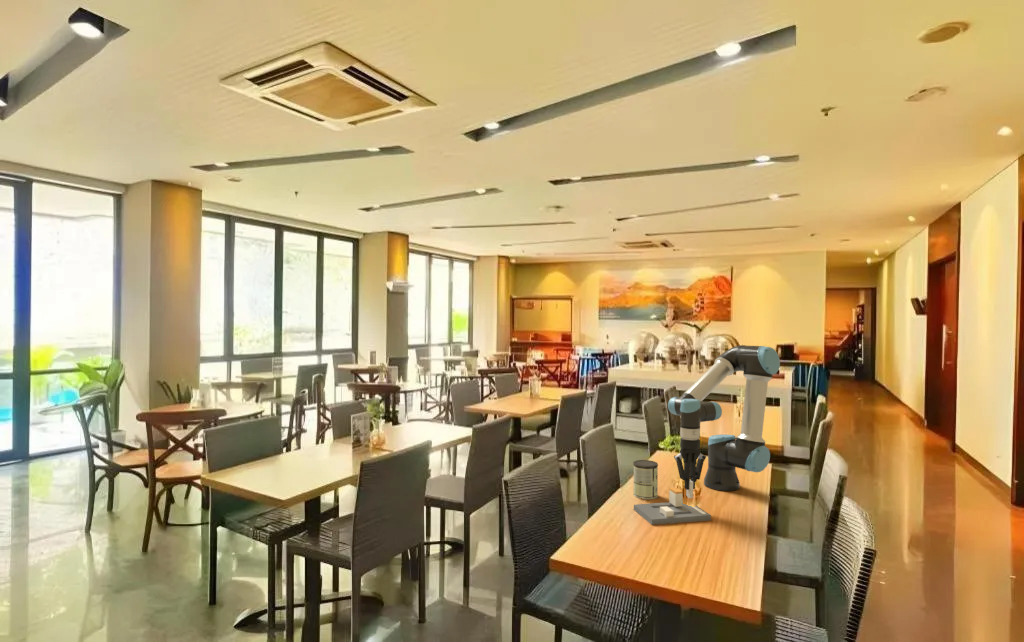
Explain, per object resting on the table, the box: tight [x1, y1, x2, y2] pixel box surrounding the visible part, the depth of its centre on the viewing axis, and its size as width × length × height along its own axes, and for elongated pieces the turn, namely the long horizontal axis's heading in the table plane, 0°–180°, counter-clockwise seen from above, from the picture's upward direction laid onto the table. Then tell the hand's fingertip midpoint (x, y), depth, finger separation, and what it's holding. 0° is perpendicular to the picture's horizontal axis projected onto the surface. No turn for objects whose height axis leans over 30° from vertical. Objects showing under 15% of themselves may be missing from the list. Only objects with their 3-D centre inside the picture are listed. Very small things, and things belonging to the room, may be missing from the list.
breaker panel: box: [633, 501, 712, 526], centre depth 209 cm, size 24×16×4 cm, turn 101°
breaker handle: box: [668, 487, 684, 507], centre depth 214 cm, size 3×5×6 cm, turn 11°
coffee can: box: [632, 459, 659, 500], centre depth 232 cm, size 10×10×14 cm
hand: (689, 497), depth 215 cm, fingers closed
